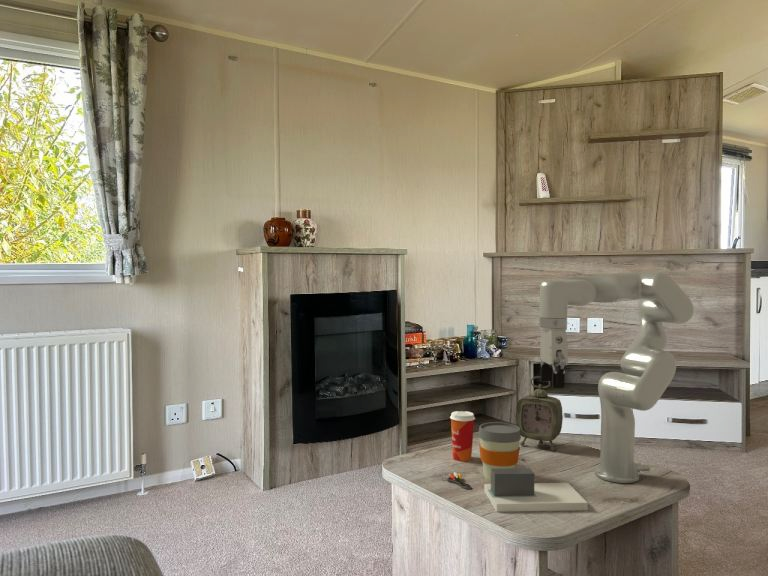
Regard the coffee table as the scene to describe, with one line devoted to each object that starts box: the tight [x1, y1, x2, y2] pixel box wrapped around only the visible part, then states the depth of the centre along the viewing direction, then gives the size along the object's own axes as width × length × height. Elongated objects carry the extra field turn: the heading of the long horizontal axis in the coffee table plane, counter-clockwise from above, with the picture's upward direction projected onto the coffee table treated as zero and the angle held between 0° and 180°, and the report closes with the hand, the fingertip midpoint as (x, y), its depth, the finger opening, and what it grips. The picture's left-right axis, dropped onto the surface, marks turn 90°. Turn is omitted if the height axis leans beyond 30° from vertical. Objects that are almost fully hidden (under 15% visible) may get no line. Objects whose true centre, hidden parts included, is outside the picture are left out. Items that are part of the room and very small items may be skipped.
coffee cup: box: [449, 410, 476, 462], centre depth 192 cm, size 8×8×15 cm
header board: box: [483, 482, 588, 513], centre depth 158 cm, size 24×14×5 cm, turn 93°
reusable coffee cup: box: [478, 421, 522, 482], centre depth 176 cm, size 13×13×15 cm
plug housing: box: [490, 467, 536, 496], centre depth 158 cm, size 11×4×6 cm, turn 93°
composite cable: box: [446, 471, 472, 491], centre depth 170 cm, size 10×5×2 cm, turn 17°
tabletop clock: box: [515, 375, 564, 452], centre depth 206 cm, size 14×9×25 cm, turn 59°
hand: (552, 384), depth 165 cm, fingers open, 9 cm apart
